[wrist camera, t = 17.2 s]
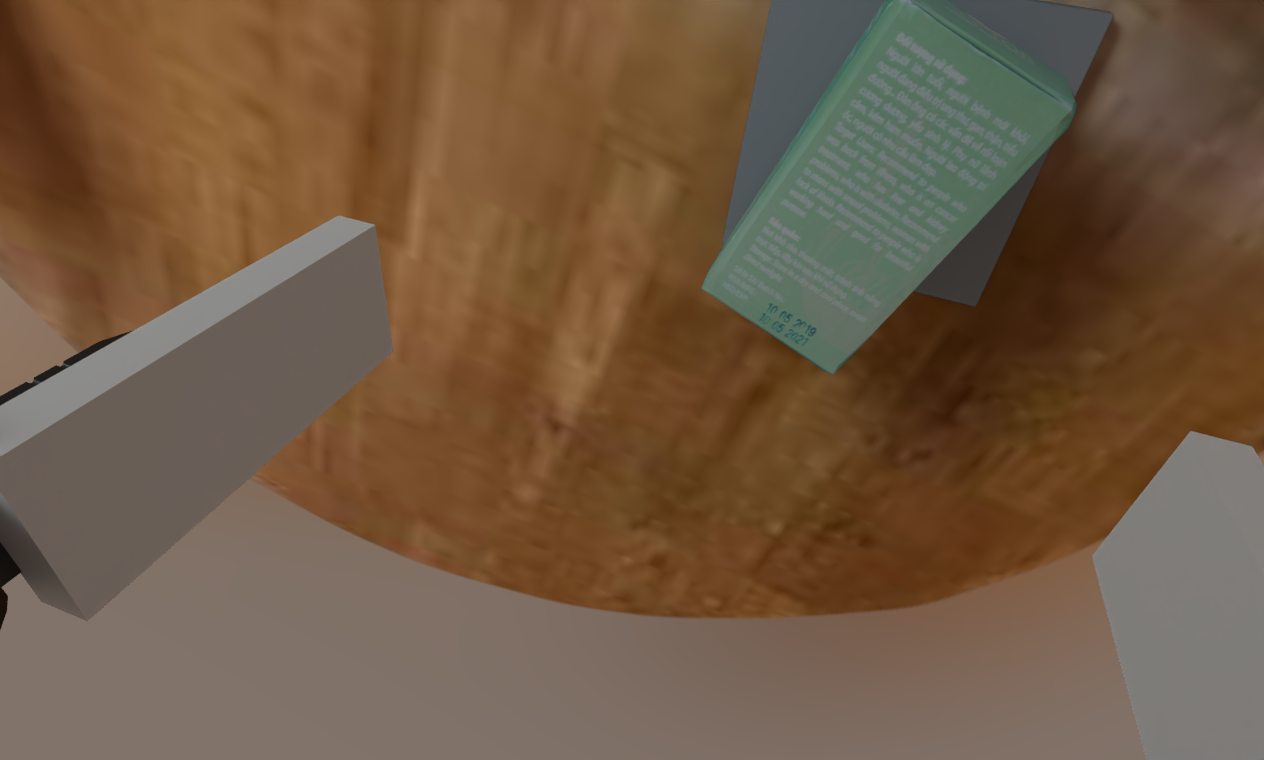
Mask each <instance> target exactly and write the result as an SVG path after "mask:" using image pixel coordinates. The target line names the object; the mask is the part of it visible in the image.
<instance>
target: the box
mask: <svg viewBox="0 0 1264 760" xmlns="http://www.w3.org/2000/svg"><path fill="white" fill-rule="evenodd" d="M1076 109H1077V103H1076V101H1075V99H1074V96H1073V94H1072V91H1071V89H1070V86H1069V84H1068V81H1067V78H1066V76H1064V75H1062V74H1061V73H1059V72H1057V71H1055V70H1054V69H1052V68H1050V67H1049V66H1047V65H1046V64H1044V63H1043V62H1041V61H1040V60H1038V59H1036V58H1035V57H1033V56H1032V55H1030V54H1029V53H1027V52H1026V51H1024V50H1023V49H1021V48H1020V47H1018V46H1016V45H1015V44H1013V43H1012V42H1010V41H1009V40H1007V39H1006V38H1004V37H1003V36H1001V35H1000V34H998V33H997V32H995V31H993V30H992V29H990V28H989V27H987V26H986V25H984V24H983V23H981V22H980V21H978V20H977V19H975V18H974V17H972V16H971V15H969V14H968V13H966V12H965V11H963V10H962V9H960V8H958V7H957V6H955V5H954V4H952V3H951V2H949V1H948V0H885V1H884V3H883V4H882V6H881V7H880V9H879V10H878V12H877V13H876V15H875V16H874V18H873V19H872V21H871V22H870V24H869V25H868V27H867V28H866V30H865V31H864V33H863V34H862V36H861V37H860V39H859V40H858V42H857V43H856V45H855V46H854V48H853V49H852V51H851V52H850V54H849V55H848V57H847V58H846V60H845V61H844V63H843V64H842V66H841V67H840V69H839V70H838V72H837V73H836V75H835V76H834V78H833V79H832V81H831V82H830V84H829V86H828V87H827V89H826V90H825V92H824V93H823V95H822V96H821V98H820V99H819V101H818V102H817V104H816V105H815V107H814V108H813V110H812V111H811V113H810V114H809V116H808V117H807V119H806V120H805V122H804V123H803V125H802V127H801V128H800V130H799V131H798V133H797V134H796V136H795V137H794V139H793V140H792V142H791V143H790V145H789V146H788V148H787V149H786V151H785V152H784V154H783V155H782V157H781V158H780V160H779V162H778V163H777V165H776V166H775V168H774V169H773V171H772V172H771V174H770V175H769V177H768V178H767V180H766V181H765V183H764V184H763V186H762V187H761V189H760V190H759V192H758V193H757V195H756V197H755V198H754V200H753V201H752V203H751V204H750V206H749V207H748V209H747V210H746V212H745V213H744V215H743V216H742V218H741V219H740V221H739V222H738V224H737V226H736V227H735V229H734V230H733V232H732V233H731V235H730V236H729V238H728V239H727V241H726V243H725V245H724V246H723V248H722V250H721V252H720V253H719V255H718V257H717V258H716V260H715V262H714V263H713V265H712V266H711V268H710V270H709V272H708V274H707V276H706V278H705V280H704V283H703V286H702V289H703V290H704V291H706V292H707V293H709V294H710V295H712V296H713V297H715V298H716V299H718V300H719V301H721V302H722V303H724V304H725V305H727V306H728V307H730V308H731V309H733V310H734V311H736V312H737V313H739V314H740V315H742V316H743V317H745V318H746V319H748V320H749V321H751V322H752V323H754V324H755V325H757V326H758V327H760V328H761V329H763V330H764V331H766V332H767V333H769V334H770V335H772V336H773V337H775V338H776V339H778V340H779V341H781V342H782V343H784V344H785V345H787V346H788V347H790V348H791V349H792V350H794V351H795V352H797V353H798V354H800V355H801V356H803V357H804V358H806V359H807V360H809V361H810V362H812V363H813V364H815V365H816V366H818V367H819V368H820V369H822V370H823V371H825V372H827V373H829V374H831V375H833V374H834V373H835V372H836V371H837V370H838V369H839V368H840V367H841V366H842V365H843V364H845V363H846V362H847V361H848V360H849V359H850V358H851V357H852V356H853V355H854V354H855V353H856V352H857V350H858V349H859V348H860V347H861V346H862V345H863V344H864V343H865V342H866V341H867V340H868V338H869V337H870V336H871V335H872V334H873V333H874V332H875V331H876V330H877V329H878V328H879V326H880V325H881V324H882V323H883V322H884V321H885V320H886V319H887V318H888V317H889V316H890V315H891V314H892V313H893V312H894V311H895V310H896V309H897V308H898V306H899V305H900V304H901V303H902V302H903V301H904V300H905V299H906V298H907V297H908V296H909V295H910V294H911V293H912V292H913V291H914V290H915V289H916V288H917V286H918V285H919V284H920V283H921V282H922V281H923V280H924V279H925V278H926V277H927V276H928V275H929V274H930V273H931V272H932V271H933V270H934V269H935V268H936V266H937V265H938V264H939V263H940V262H941V261H942V260H943V259H944V258H945V257H946V256H947V255H948V254H949V253H950V252H951V251H952V250H953V249H954V248H955V247H956V246H957V245H958V243H959V242H960V241H961V240H962V239H963V238H964V237H965V236H966V235H967V234H968V233H969V232H970V231H971V230H972V229H973V228H974V227H975V226H976V225H977V224H978V223H979V221H980V220H981V219H982V218H983V217H984V216H985V215H986V214H987V213H988V212H989V211H990V210H991V209H992V208H993V206H994V205H995V204H996V203H997V202H998V201H999V200H1000V199H1001V198H1002V197H1003V196H1004V195H1005V194H1006V193H1007V192H1008V190H1009V189H1010V188H1011V187H1012V186H1013V185H1014V184H1015V183H1016V182H1017V181H1018V180H1019V179H1020V178H1021V177H1022V176H1023V175H1024V173H1025V172H1026V171H1027V170H1028V169H1029V168H1030V167H1031V166H1032V165H1033V164H1034V163H1035V162H1036V161H1037V160H1038V159H1039V158H1040V157H1041V155H1042V154H1043V153H1044V152H1045V151H1046V150H1047V149H1048V148H1049V147H1050V146H1051V145H1052V144H1053V143H1054V142H1055V141H1056V140H1057V139H1058V138H1059V137H1060V136H1061V135H1062V134H1063V133H1064V132H1065V131H1066V130H1067V129H1068V128H1069V126H1070V124H1071V122H1072V120H1073V117H1074V115H1075V113H1076Z"/></svg>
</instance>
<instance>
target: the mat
mask: <svg viewBox="0 0 1264 760" xmlns="http://www.w3.org/2000/svg"><path fill="white" fill-rule="evenodd" d="M884 1H885V0H772V1H771V6H770V11H769V16H768V21H767V26H766V31H765V35H764V40H763V45H762V50H761V55H760V60H759V65H758V70H757V75H756V80H755V84H754V89H753V94H752V99H751V104H750V109H749V114H748V119H747V124H746V129H745V134H744V138H743V143H742V148H741V153H740V158H739V163H738V168H737V173H736V178H735V183H734V187H733V192H732V197H731V202H730V207H729V212H728V217H727V222H726V227H725V232H724V237H723V241H722V245H725V243H726V241H727V239H728V238H729V236H730V235H731V233H732V232H733V230H734V229H735V227H736V226H737V224H738V222H739V221H740V219H741V218H742V216H743V215H744V213H745V212H746V210H747V209H748V207H749V206H750V204H751V203H752V201H753V200H754V198H755V197H756V195H757V193H758V192H759V190H760V189H761V187H762V186H763V184H764V183H765V181H766V180H767V178H768V177H769V175H770V174H771V172H772V171H773V169H774V168H775V166H776V165H777V163H778V162H779V160H780V158H781V157H782V155H783V154H784V152H785V151H786V149H787V148H788V146H789V145H790V143H791V142H792V140H793V139H794V137H795V136H796V134H797V133H798V131H799V130H800V128H801V127H802V125H803V123H804V122H805V120H806V119H807V117H808V116H809V114H810V113H811V111H812V110H813V108H814V107H815V105H816V104H817V102H818V101H819V99H820V98H821V96H822V95H823V93H824V92H825V90H826V89H827V87H828V86H829V84H830V82H831V81H832V79H833V78H834V76H835V75H836V73H837V72H838V70H839V69H840V67H841V66H842V64H843V63H844V61H845V60H846V58H847V57H848V55H849V54H850V52H851V51H852V49H853V48H854V46H855V45H856V43H857V42H858V40H859V39H860V37H861V36H862V34H863V33H864V31H865V30H866V28H867V27H868V25H869V24H870V22H871V21H872V19H873V18H874V16H875V15H876V13H877V12H878V10H879V9H880V7H881V6H882V4H883V3H884ZM948 1H949V2H951V3H952V4H954V5H955V6H957V7H958V8H960V9H962V10H963V11H965V12H966V13H968V14H969V15H971V16H972V17H974V18H975V19H977V20H978V21H980V22H981V23H983V24H984V25H986V26H987V27H989V28H990V29H992V30H993V31H995V32H997V33H998V34H1000V35H1001V36H1003V37H1004V38H1006V39H1007V40H1009V41H1010V42H1012V43H1013V44H1015V45H1016V46H1018V47H1020V48H1021V49H1023V50H1024V51H1026V52H1027V53H1029V54H1030V55H1032V56H1033V57H1035V58H1036V59H1038V60H1040V61H1041V62H1043V63H1044V64H1046V65H1047V66H1049V67H1050V68H1052V69H1054V70H1055V71H1057V72H1059V73H1061V74H1062V75H1064V76H1066V78H1067V81H1068V84H1069V86H1070V89H1071V91H1072V94H1073V96H1074V98H1075V96H1076V94H1077V91H1078V89H1079V87H1080V85H1081V83H1082V81H1083V79H1084V77H1085V75H1086V72H1087V70H1088V68H1089V66H1090V64H1091V62H1092V60H1093V58H1094V56H1095V53H1096V51H1097V49H1098V47H1099V45H1100V43H1101V41H1102V39H1103V37H1104V34H1105V32H1106V30H1107V28H1108V26H1109V24H1110V22H1111V20H1112V18H1113V15H1114V14H1113V13H1111V12H1109V11H1102V10H1096V9H1089V8H1083V7H1077V6H1070V5H1064V4H1058V3H1051V2H1045V1H1038V0H948ZM1051 146H1052V145H1051ZM1051 146H1050V147H1049V148H1048V149H1047V150H1046V151H1045V152H1044V153H1043V154H1042V155H1041V157H1040V158H1039V159H1038V160H1037V161H1036V162H1035V163H1034V164H1033V165H1032V166H1031V167H1030V168H1029V169H1028V170H1027V171H1026V172H1025V173H1024V175H1023V176H1022V177H1021V178H1020V179H1019V180H1018V181H1017V182H1016V183H1015V184H1014V185H1013V186H1012V187H1011V188H1010V189H1009V190H1008V192H1007V193H1006V194H1005V195H1004V196H1003V197H1002V198H1001V199H1000V200H999V201H998V202H997V203H996V204H995V205H994V206H993V208H992V209H991V210H990V211H989V212H988V213H987V214H986V215H985V216H984V217H983V218H982V219H981V220H980V221H979V223H978V224H977V225H976V226H975V227H974V228H973V229H972V230H971V231H970V232H969V233H968V234H967V235H966V236H965V237H964V238H963V239H962V240H961V241H960V242H959V243H958V245H957V246H956V247H955V248H954V249H953V250H952V251H951V252H950V253H949V254H948V255H947V256H946V257H945V258H944V259H943V260H942V261H941V262H940V263H939V264H938V265H937V266H936V268H935V269H934V270H933V271H932V272H931V273H930V274H929V275H928V276H927V277H926V278H925V279H924V280H923V281H922V282H921V283H920V284H919V285H918V286H917V288H916V289H915V290H914V291H913V292H917V293H921V294H925V295H929V296H933V297H937V298H942V299H946V300H950V301H954V302H958V303H962V304H966V305H970V306H974V307H976V305H977V303H978V301H979V298H980V296H981V294H982V292H983V290H984V288H985V286H986V284H987V282H988V279H989V277H990V275H991V273H992V271H993V269H994V267H995V265H996V263H997V260H998V258H999V256H1000V254H1001V252H1002V250H1003V248H1004V246H1005V244H1006V241H1007V239H1008V237H1009V235H1010V233H1011V231H1012V229H1013V227H1014V225H1015V222H1016V220H1017V218H1018V216H1019V214H1020V212H1021V210H1022V208H1023V206H1024V203H1025V201H1026V199H1027V197H1028V195H1029V193H1030V191H1031V189H1032V187H1033V184H1034V182H1035V180H1036V178H1037V176H1038V174H1039V172H1040V170H1041V168H1042V165H1043V163H1044V161H1045V159H1046V157H1047V155H1048V153H1049V151H1050V149H1051Z"/></svg>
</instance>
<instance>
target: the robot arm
mask: <svg viewBox="0 0 1264 760" xmlns="http://www.w3.org/2000/svg"><path fill="white" fill-rule="evenodd" d="M392 352H393V346H392V339H391V332H390V325H389V318H388V311H387V304H386V297H385V290H384V283H383V276H382V269H381V262H380V255H379V248H378V242H377V235H376V228H375V225H373V224H369V223H366V222H362V221H358V220H354V219H350V218H346V217H342V216H337V217H335V218H333V219H331V220H330V221H328V222H326V223H324V224H322V225H321V226H319V227H317V228H315V229H314V230H312V231H310V232H308V233H306V234H305V235H303V236H301V237H299V238H298V239H296V240H294V241H292V242H290V243H289V244H287V245H285V246H283V247H282V248H280V249H278V250H276V251H274V252H273V253H271V254H269V255H267V256H266V257H264V258H262V259H260V260H258V261H257V262H255V263H253V264H251V265H250V266H248V267H246V268H244V269H242V270H241V271H239V272H237V273H235V274H234V275H232V276H230V277H228V278H226V279H225V280H223V281H221V282H219V283H218V284H216V285H214V286H212V287H210V288H209V289H207V290H205V291H203V292H202V293H200V294H198V295H196V296H194V297H193V298H191V299H189V300H187V301H186V302H184V303H182V304H180V305H178V306H177V307H175V308H173V309H171V310H170V311H168V312H166V313H164V314H162V315H161V316H159V317H157V318H155V319H154V320H152V321H150V322H148V323H146V324H145V325H143V326H141V327H139V328H138V329H136V330H133V331H130V332H127V333H124V334H121V335H118V336H115V337H112V338H109V339H106V340H103V341H100V342H98V343H96V344H94V345H92V346H91V347H89V348H87V349H85V350H83V351H81V352H80V353H78V354H76V355H74V356H73V357H71V358H69V359H67V360H65V361H64V364H63V365H62V366H61V367H59V366H54V367H53V368H51V369H49V370H47V371H45V372H44V373H42V374H40V375H38V376H36V377H34V381H33V382H32V383H27V382H25V383H24V384H22V385H20V386H18V387H16V388H14V389H13V390H11V391H9V392H7V393H6V394H4V395H2V396H0V629H1V626H2V623H3V620H4V617H5V615H6V612H7V601H8V596H7V594H6V593H5V592H4V590H3V589H2V588H1V587H2V586H4V585H5V584H6V583H7V582H8V581H10V580H11V579H13V578H14V577H15V576H17V575H18V574H19V573H21V574H22V575H23V577H24V578H25V580H26V581H27V582H28V584H29V585H30V586H31V588H32V589H33V591H34V592H35V593H36V595H37V596H38V598H39V599H40V600H41V602H44V603H46V604H48V605H51V606H53V607H56V608H58V609H60V610H62V611H65V612H67V613H69V614H72V615H74V616H77V617H79V618H81V619H84V620H86V621H88V620H89V619H90V618H92V617H93V616H94V615H95V614H96V613H97V612H98V611H100V610H101V609H102V608H103V607H104V606H105V605H106V604H107V603H108V602H110V601H111V600H112V599H113V598H114V597H115V596H117V595H118V594H119V593H120V592H121V591H122V590H123V589H124V588H126V586H128V585H129V584H130V583H131V582H132V581H133V580H135V579H136V578H137V577H138V576H139V575H140V574H141V573H143V572H144V571H145V570H146V569H147V568H148V567H149V566H151V565H152V564H153V563H154V562H155V561H156V560H157V559H158V558H160V557H161V556H162V555H163V554H164V553H165V552H166V551H168V549H170V548H171V547H172V546H173V545H174V544H175V543H176V542H178V541H179V540H180V539H181V538H182V537H183V536H185V535H186V534H187V533H188V532H189V531H190V530H191V529H192V528H193V527H195V526H196V525H197V524H198V523H199V522H200V521H201V520H203V519H204V518H205V517H206V516H207V515H208V514H209V513H211V512H212V511H213V510H214V509H215V508H216V507H217V506H219V505H220V504H221V503H222V502H223V501H224V500H225V499H226V498H227V497H229V496H230V495H231V494H232V493H233V492H234V491H236V490H237V489H238V488H239V487H240V486H241V485H242V484H243V483H245V481H247V480H248V479H249V478H250V477H251V476H253V475H254V474H255V473H256V472H257V471H258V470H259V469H260V468H262V467H263V466H264V465H265V464H266V463H267V462H268V461H270V460H271V459H272V458H273V457H274V456H275V455H276V454H277V453H279V452H280V451H281V450H282V449H283V448H284V447H285V446H287V445H288V444H289V443H290V442H291V441H292V440H293V439H294V438H296V437H297V436H298V435H299V434H300V433H301V432H302V431H304V430H305V429H306V428H307V427H308V426H309V425H310V424H311V423H313V422H314V421H315V420H316V419H317V418H318V417H319V416H321V415H322V414H323V413H324V412H325V411H326V410H327V409H328V408H330V407H331V406H332V405H333V404H334V403H335V402H336V401H338V400H339V399H340V398H341V397H342V396H343V395H344V394H345V393H347V392H348V391H349V390H350V389H351V388H352V387H353V386H355V385H356V384H357V383H358V382H359V381H360V380H361V379H362V378H364V377H365V376H366V375H367V374H368V373H369V372H370V371H372V370H373V369H374V368H375V367H376V366H377V365H378V364H379V363H381V362H382V361H383V360H384V359H385V358H386V357H387V356H388V355H390V354H391V353H392ZM1092 559H1093V563H1094V567H1095V570H1096V574H1097V578H1098V582H1099V585H1100V589H1101V593H1102V596H1103V600H1104V604H1105V608H1106V611H1107V615H1108V619H1109V623H1110V626H1111V630H1112V634H1113V638H1114V641H1115V645H1116V648H1117V652H1118V656H1119V660H1120V664H1121V667H1122V671H1123V675H1124V679H1125V682H1126V686H1127V690H1128V694H1129V697H1130V701H1131V705H1132V708H1133V712H1134V716H1135V720H1136V723H1137V727H1138V731H1139V734H1140V738H1141V742H1142V746H1143V750H1144V753H1145V757H1146V760H1264V465H1263V464H1262V462H1261V460H1260V459H1259V457H1258V455H1257V454H1256V452H1255V450H1254V449H1253V447H1252V446H1248V445H1244V444H1240V443H1236V442H1232V441H1228V440H1224V439H1220V438H1216V437H1212V436H1208V435H1204V434H1200V433H1196V432H1192V431H1190V432H1189V434H1188V435H1187V436H1186V437H1185V439H1184V440H1183V441H1182V442H1181V444H1180V445H1179V446H1178V448H1177V449H1176V450H1175V451H1174V453H1173V454H1172V455H1171V456H1170V458H1169V459H1168V460H1167V461H1166V463H1165V464H1164V465H1163V467H1162V468H1161V469H1160V470H1159V472H1158V473H1157V474H1156V475H1155V477H1154V478H1153V479H1152V480H1151V482H1150V483H1149V484H1148V486H1147V487H1146V488H1145V489H1144V491H1143V492H1142V493H1141V494H1140V496H1139V497H1138V498H1137V500H1136V501H1135V502H1134V503H1133V505H1132V506H1131V507H1130V508H1129V510H1128V511H1127V512H1126V513H1125V515H1124V516H1123V517H1122V519H1121V520H1120V521H1119V522H1118V524H1117V525H1116V526H1115V527H1114V529H1113V530H1112V531H1111V533H1110V534H1109V535H1108V536H1107V538H1106V539H1105V540H1104V541H1103V543H1102V544H1101V545H1100V546H1099V548H1098V549H1097V550H1096V552H1095V553H1094V554H1093V555H1092Z"/></svg>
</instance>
